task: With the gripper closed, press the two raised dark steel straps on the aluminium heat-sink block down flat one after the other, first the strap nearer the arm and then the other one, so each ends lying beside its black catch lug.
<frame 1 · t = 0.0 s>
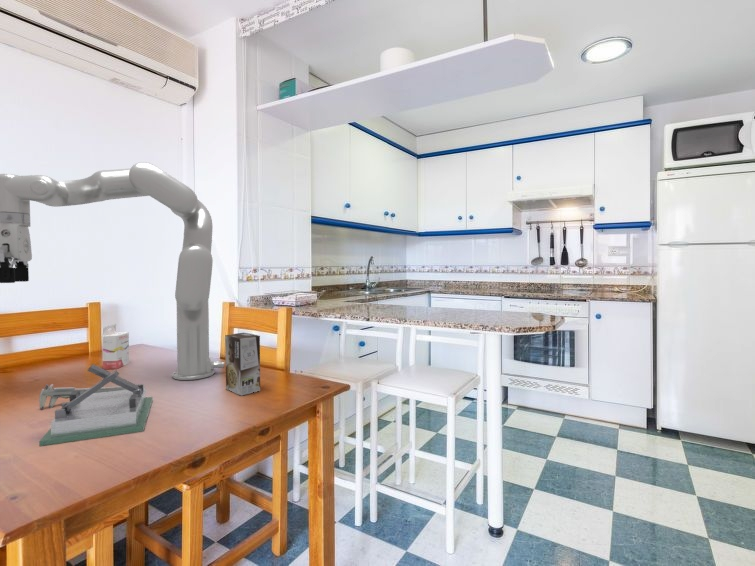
hand: (14, 282, 113), 31 cm above the table, tool pointing down, fingers open, 9 cm apart
strap b: (89, 392, 89), point 8 cm above the table, hinge at 35.0°
ink cartridge box: (116, 366, 144), on the table
strap a: (116, 379, 99), point 8 cm above the table, hinge at 35.0°
caliper: (88, 400, 109), on the table
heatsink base: (104, 419, 94), on the table
coffee box: (243, 390, 117), on the table
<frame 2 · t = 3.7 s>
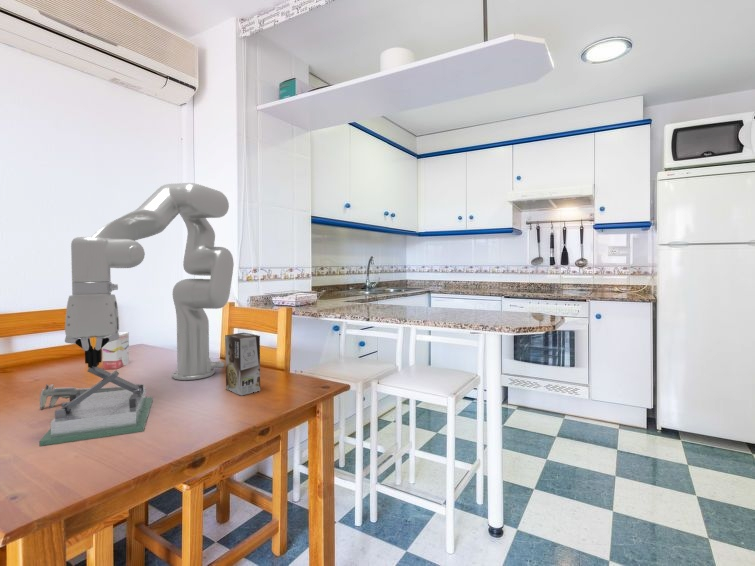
hand: (93, 365, 97), 12 cm above the table, tool pointing down, fingers closed
strap a: (115, 380, 99), point 8 cm above the table, hinge at 34.3°, touching gripper
everything else where it was.
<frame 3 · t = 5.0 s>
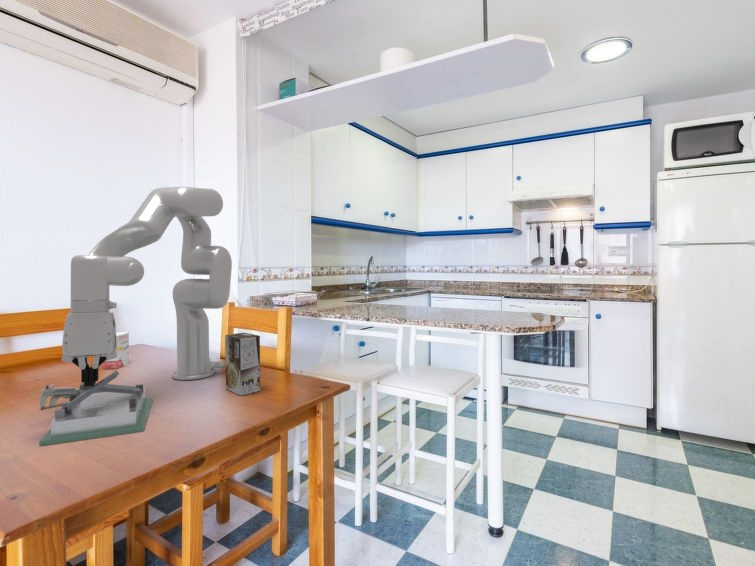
hand: (90, 384, 96), 8 cm above the table, tool pointing down, fingers closed
strap a: (112, 388, 98), point 6 cm above the table, hinge at 12.9°, touching gripper
everything else where it was.
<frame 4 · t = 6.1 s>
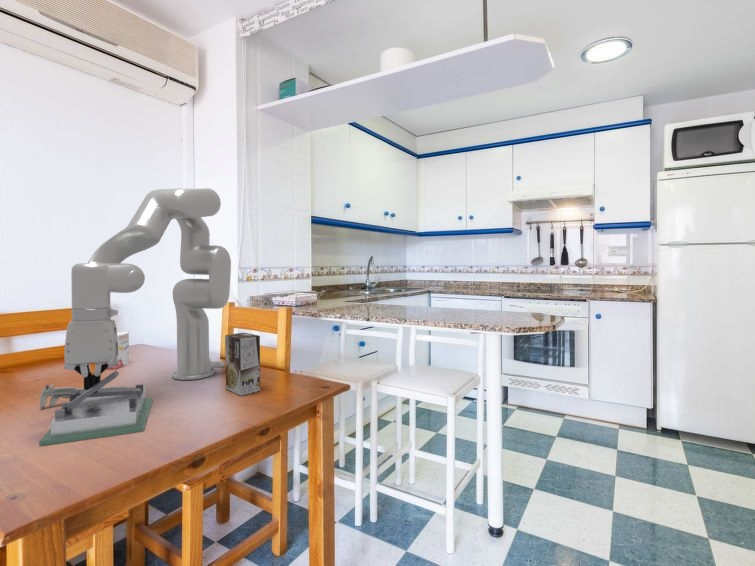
hand: (92, 392, 96), 6 cm above the table, tool pointing down, fingers closed
strap a: (111, 392, 98), point 5 cm above the table, hinge at 3.3°, touching gripper
everything else where it was.
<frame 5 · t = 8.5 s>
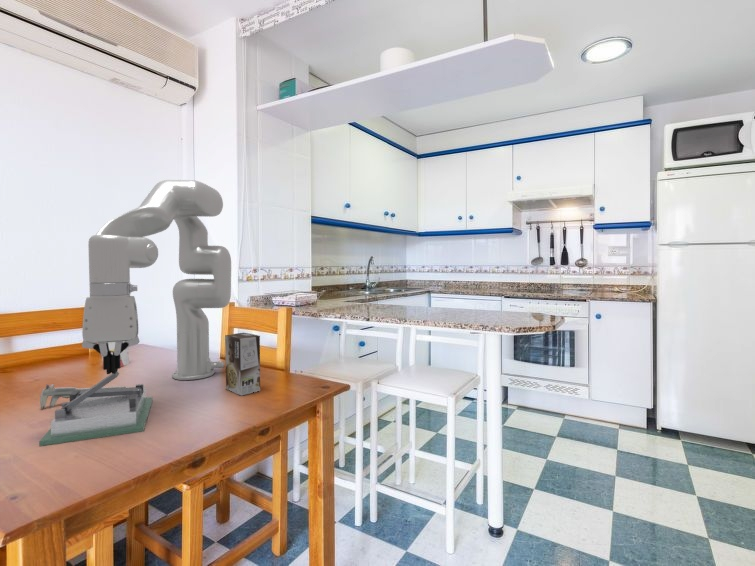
hand: (112, 372, 91), 12 cm above the table, tool pointing down, fingers closed
strap b: (89, 392, 89), point 8 cm above the table, hinge at 34.8°, touching gripper
strap a: (111, 392, 98), point 5 cm above the table, hinge at 3.2°
everything else where it was.
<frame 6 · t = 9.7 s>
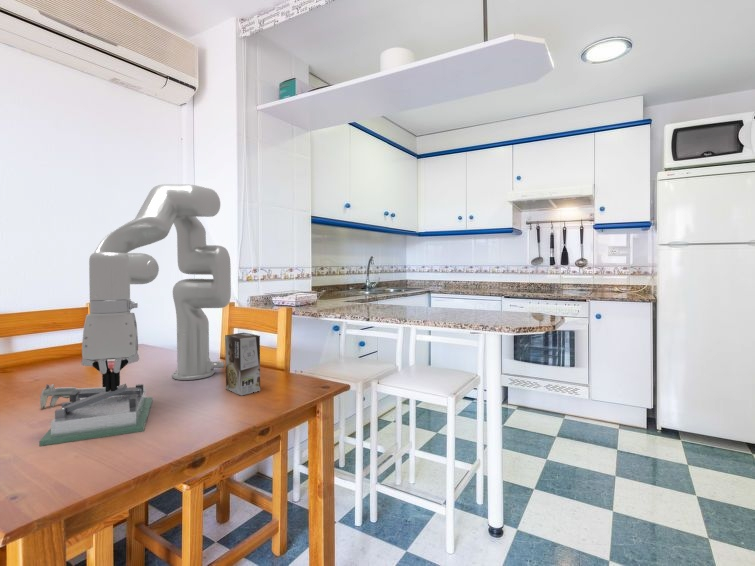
hand: (111, 389, 90), 8 cm above the table, tool pointing down, fingers closed
strap b: (93, 398, 89), point 6 cm above the table, hinge at 17.1°, touching gripper
everything else where it was.
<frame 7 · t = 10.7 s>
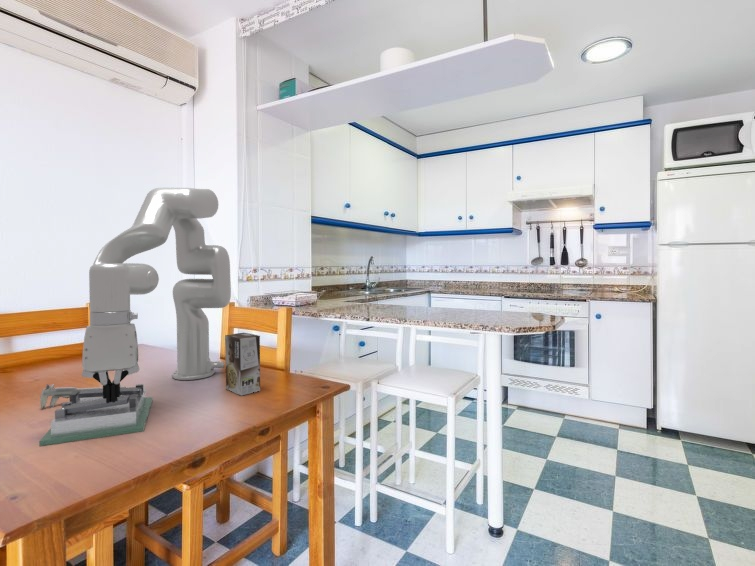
hand: (111, 400, 90), 6 cm above the table, tool pointing down, fingers closed
strap b: (95, 404, 90), point 5 cm above the table, hinge at 3.1°, touching gripper
everything else where it was.
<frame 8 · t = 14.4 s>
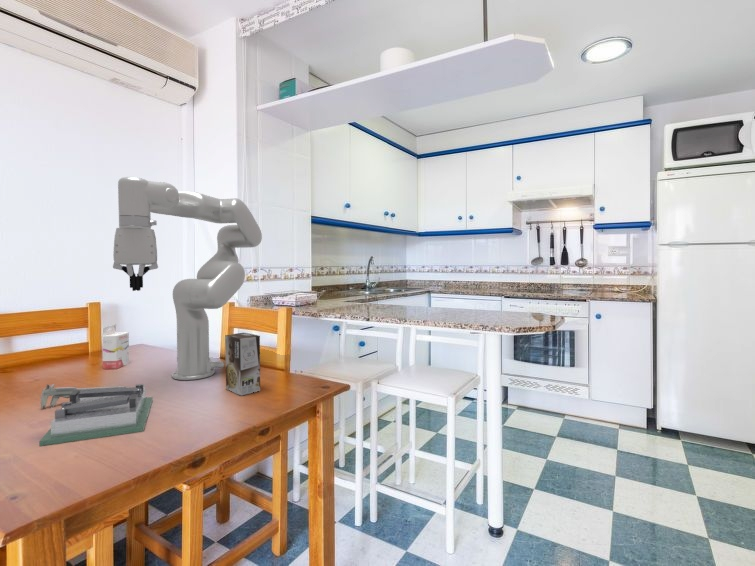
hand: (136, 290, 112), 29 cm above the table, tool pointing down, fingers closed
strap b: (95, 404, 90), point 5 cm above the table, hinge at 3.0°
everything else where it was.
at the end: strap a at +3° (first picture: +35°); strap b at +3° (first picture: +35°) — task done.
